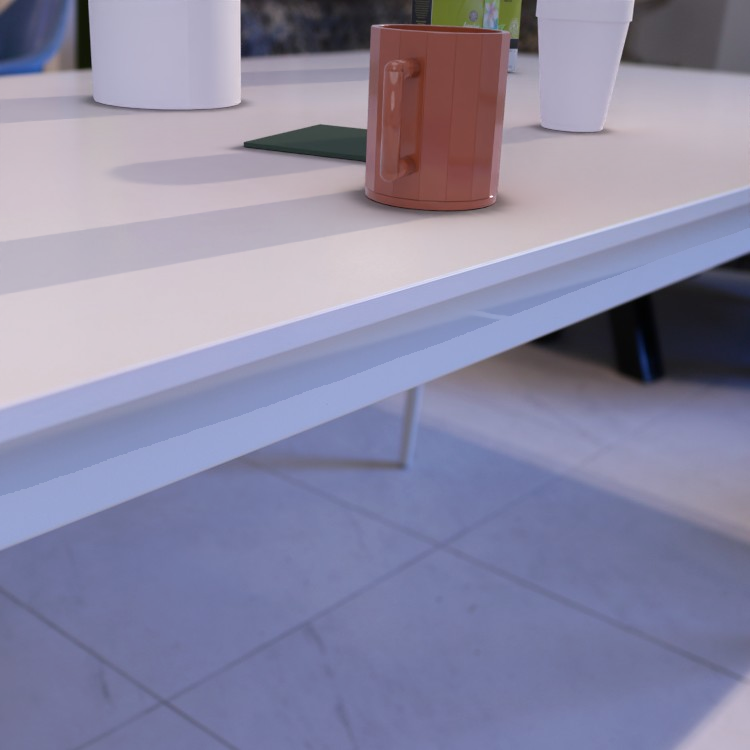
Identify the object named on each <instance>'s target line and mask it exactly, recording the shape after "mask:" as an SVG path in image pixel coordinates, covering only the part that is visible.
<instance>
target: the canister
mask: <svg viewBox="0 0 750 750" xmlns="http://www.w3.org/2000/svg"><path fill="white" fill-rule="evenodd" d="M87 1H88V3H87V5H88V23H89V40H90V57H91V58H90V59H91V60H90V61H91V77H92V78H91V79H92V95H93V100H94V102H96V103H98V104H103V105H108V106H113V107H122V108H130V109H131V108H132V109H146V110H171V111H173V110H177V111H179V110H181V111H182V110H185V111H186V110H190V111H191V110H212V109H221V108H229V107H233V106H237V105H240V103H242V68H241V67H242V65H241V64H242V59H241V57H242V55H241V54H242V52H241V51H242V49H241V48H242V47H241V45H242V43H241V39H242V38H241V36H242V35H241V33H242V32H241V27H242V26H241V25H242V23H241V21H242V20H241V0H87Z"/></svg>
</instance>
